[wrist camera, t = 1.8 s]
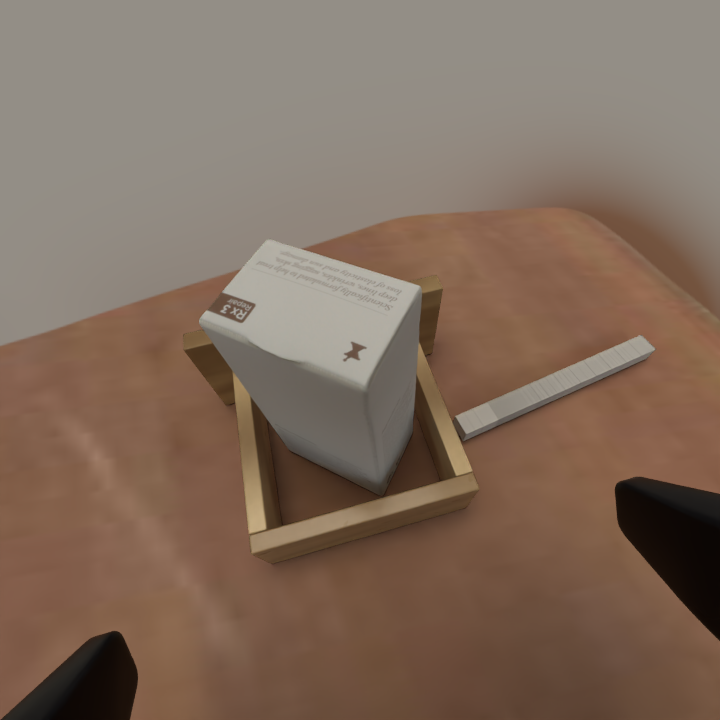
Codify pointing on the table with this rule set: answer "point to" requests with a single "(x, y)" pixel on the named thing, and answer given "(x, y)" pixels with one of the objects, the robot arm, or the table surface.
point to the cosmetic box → (324, 357)
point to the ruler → (551, 387)
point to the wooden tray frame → (359, 519)
